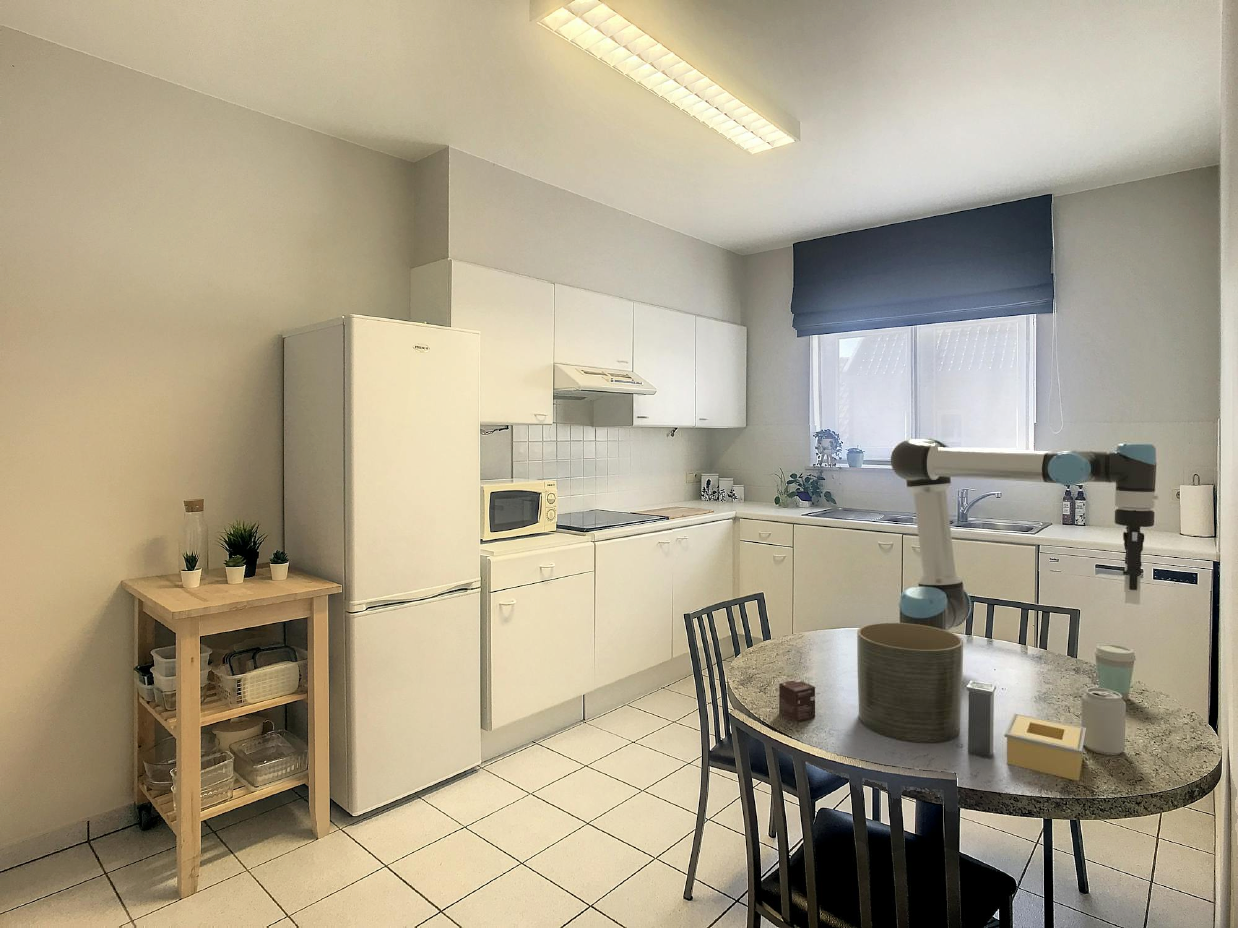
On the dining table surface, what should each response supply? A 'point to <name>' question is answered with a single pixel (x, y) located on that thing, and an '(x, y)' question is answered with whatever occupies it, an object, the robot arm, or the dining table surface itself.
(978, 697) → the wedge pin
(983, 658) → the dining table surface
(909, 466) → the robot arm
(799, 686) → the box
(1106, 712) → the can
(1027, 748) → the tan hollow block
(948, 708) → the planter
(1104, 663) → the coffee cup
